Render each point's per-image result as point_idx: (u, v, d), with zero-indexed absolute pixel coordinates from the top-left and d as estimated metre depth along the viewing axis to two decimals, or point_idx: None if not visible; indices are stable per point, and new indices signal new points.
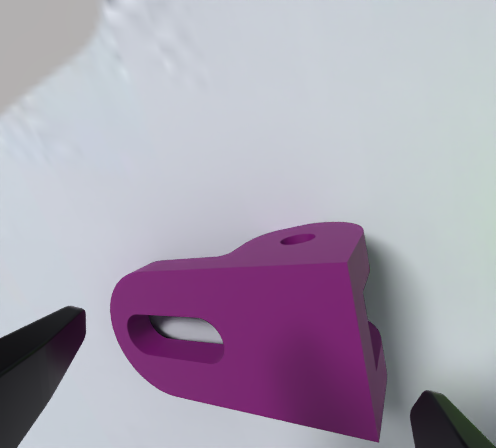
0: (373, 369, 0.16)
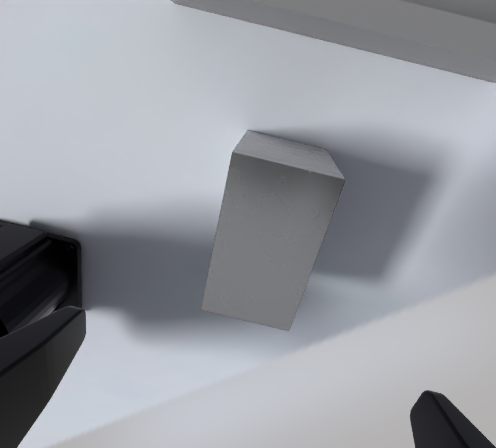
0: None
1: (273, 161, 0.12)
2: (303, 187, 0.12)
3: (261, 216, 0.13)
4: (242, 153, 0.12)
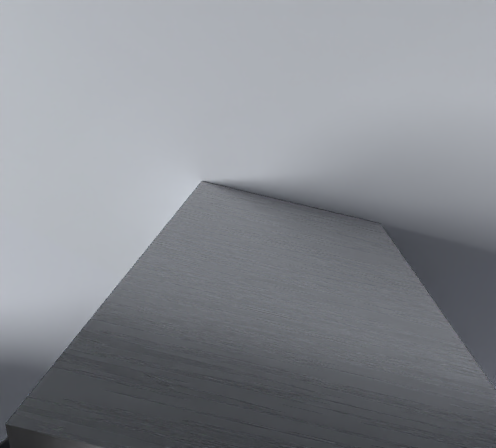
0: None
1: None
2: None
3: None
4: (71, 416, 0.02)
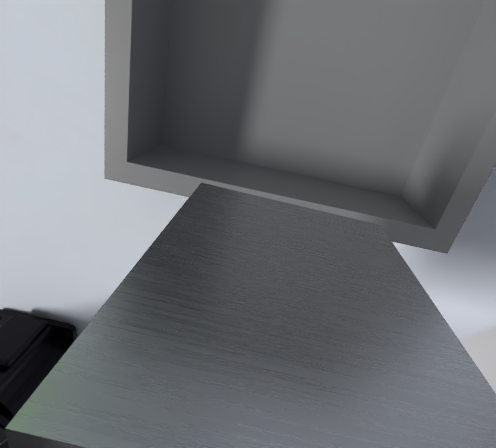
0: None
1: None
2: None
3: None
4: (71, 420, 0.02)
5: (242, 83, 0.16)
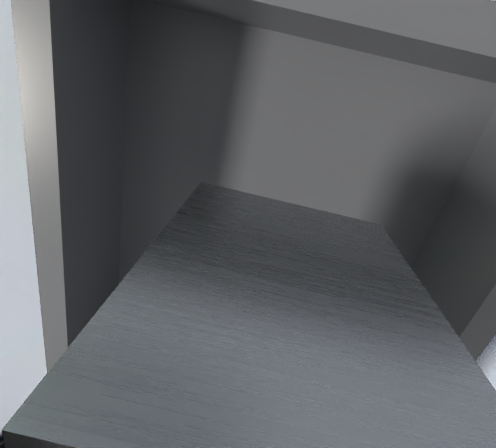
0: None
1: None
2: None
3: None
4: (68, 422, 0.02)
5: None
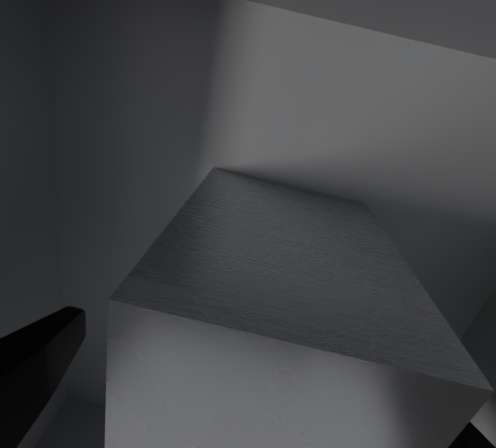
0: None
1: (249, 327, 0.04)
2: (347, 401, 0.04)
3: None
4: (146, 299, 0.04)
5: None
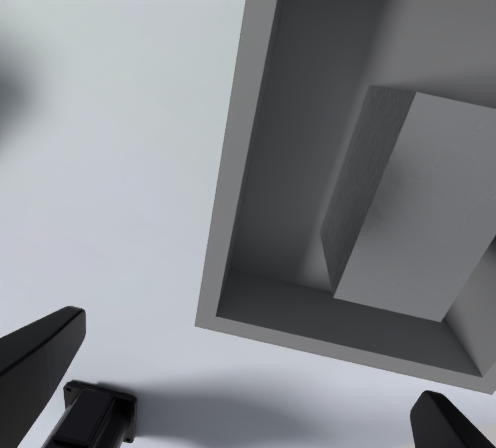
0: None
1: (468, 103, 0.09)
2: None
3: (437, 177, 0.10)
4: (427, 94, 0.10)
5: (307, 227, 0.18)
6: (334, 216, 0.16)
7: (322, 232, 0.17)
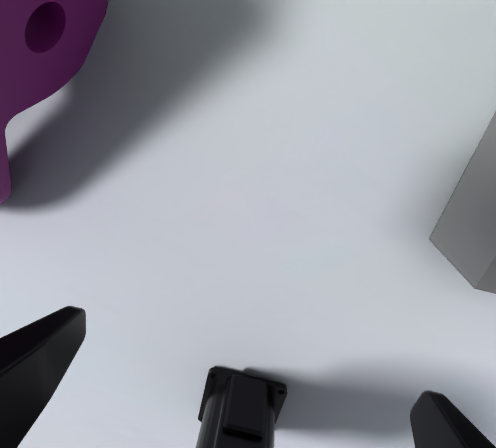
0: None
1: None
2: None
3: None
4: None
5: None
6: None
7: None
